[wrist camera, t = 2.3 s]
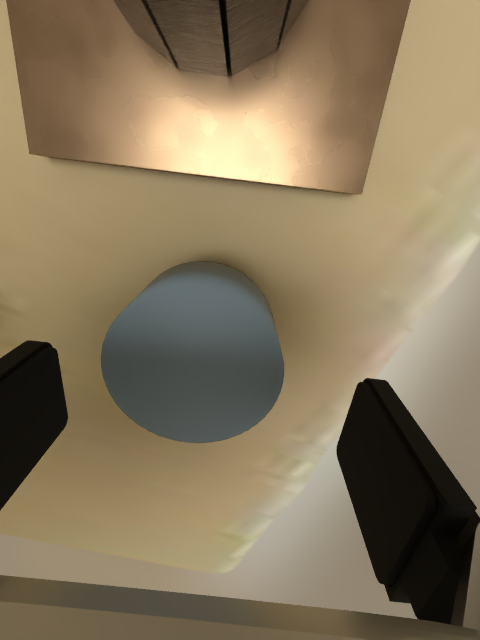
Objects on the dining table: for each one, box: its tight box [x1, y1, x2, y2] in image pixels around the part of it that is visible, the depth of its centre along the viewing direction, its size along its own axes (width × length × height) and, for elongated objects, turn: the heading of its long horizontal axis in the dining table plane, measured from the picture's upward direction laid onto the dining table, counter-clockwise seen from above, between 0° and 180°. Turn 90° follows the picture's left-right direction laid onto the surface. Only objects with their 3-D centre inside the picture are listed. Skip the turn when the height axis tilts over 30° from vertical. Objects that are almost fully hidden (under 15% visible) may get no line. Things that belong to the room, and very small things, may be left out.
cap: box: [101, 261, 284, 443], centre depth 15 cm, size 7×7×8 cm
